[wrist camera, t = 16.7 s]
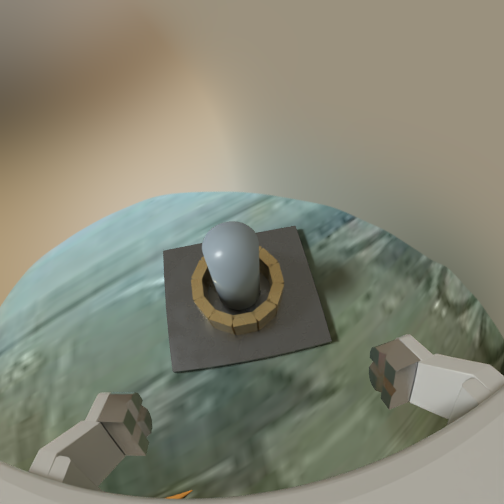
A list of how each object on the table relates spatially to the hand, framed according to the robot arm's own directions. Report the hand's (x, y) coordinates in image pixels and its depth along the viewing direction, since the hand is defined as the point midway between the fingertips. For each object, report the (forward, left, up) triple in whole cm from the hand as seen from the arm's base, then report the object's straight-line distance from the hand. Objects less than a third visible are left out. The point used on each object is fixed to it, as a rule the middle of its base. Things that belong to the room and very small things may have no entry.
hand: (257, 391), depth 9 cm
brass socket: (0, -13, -22) cm, 26 cm away
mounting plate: (0, -13, -22) cm, 26 cm away
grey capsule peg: (0, -13, -21) cm, 25 cm away
